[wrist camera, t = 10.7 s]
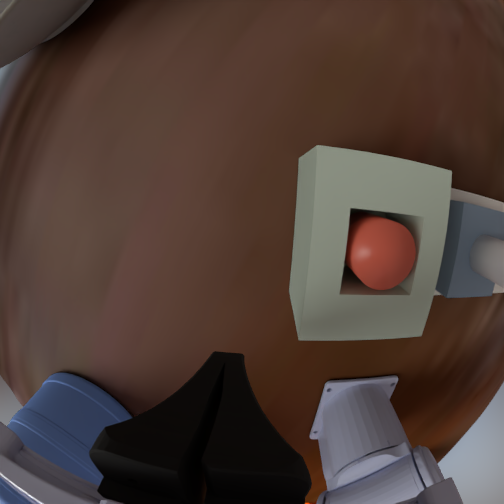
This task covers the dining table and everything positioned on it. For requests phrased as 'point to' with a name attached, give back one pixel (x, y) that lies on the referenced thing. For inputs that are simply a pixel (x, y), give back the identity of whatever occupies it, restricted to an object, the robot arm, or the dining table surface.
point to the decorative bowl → (34, 23)
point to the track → (336, 232)
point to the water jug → (64, 426)
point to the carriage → (472, 252)
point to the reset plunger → (379, 250)
